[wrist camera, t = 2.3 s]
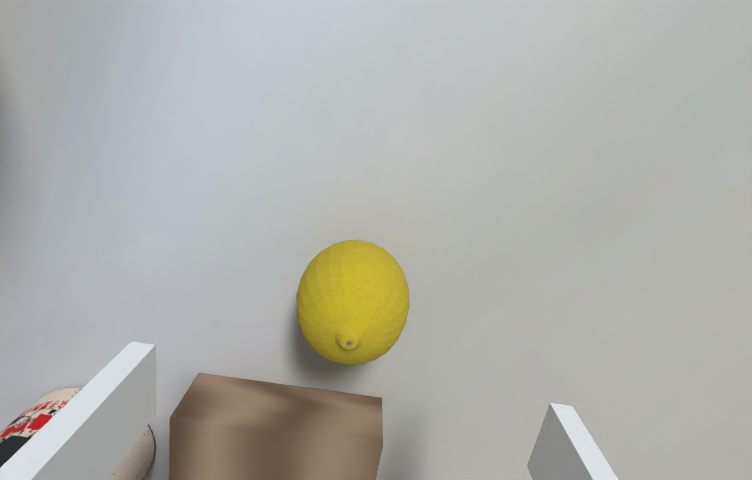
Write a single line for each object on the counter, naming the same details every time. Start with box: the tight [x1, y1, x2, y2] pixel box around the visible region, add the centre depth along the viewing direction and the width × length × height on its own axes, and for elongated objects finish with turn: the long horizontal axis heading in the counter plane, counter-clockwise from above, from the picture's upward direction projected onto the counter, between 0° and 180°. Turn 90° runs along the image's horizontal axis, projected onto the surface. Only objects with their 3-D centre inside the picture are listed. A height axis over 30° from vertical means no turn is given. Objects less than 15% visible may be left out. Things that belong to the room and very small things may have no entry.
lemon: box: [297, 240, 409, 365], centre depth 21 cm, size 6×6×8 cm
